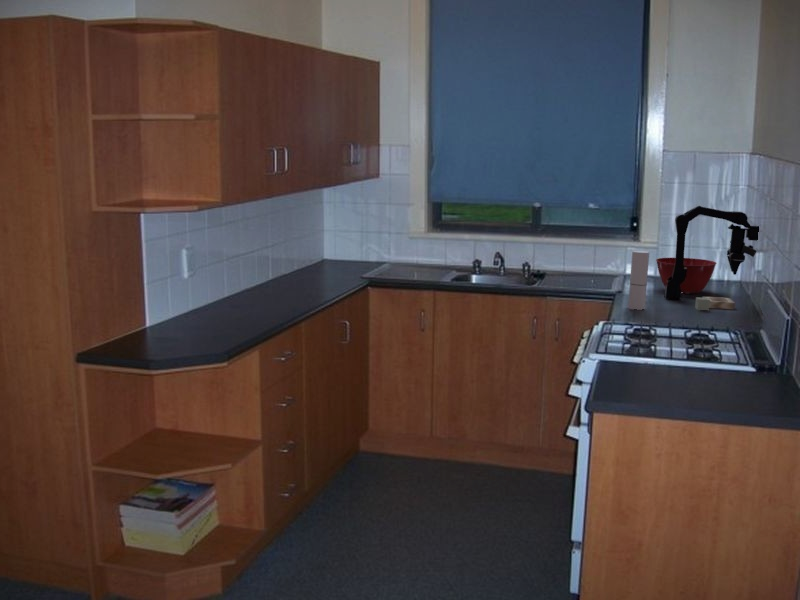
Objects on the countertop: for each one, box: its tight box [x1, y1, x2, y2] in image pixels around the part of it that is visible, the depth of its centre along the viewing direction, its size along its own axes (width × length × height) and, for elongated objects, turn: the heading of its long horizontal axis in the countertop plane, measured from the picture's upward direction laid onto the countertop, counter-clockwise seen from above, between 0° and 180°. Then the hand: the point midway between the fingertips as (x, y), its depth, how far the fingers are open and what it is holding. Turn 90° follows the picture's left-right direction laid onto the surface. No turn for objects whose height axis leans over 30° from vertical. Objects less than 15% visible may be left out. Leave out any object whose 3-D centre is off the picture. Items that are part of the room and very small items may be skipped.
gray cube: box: [694, 297, 710, 312], centre depth 394 cm, size 5×5×5 cm
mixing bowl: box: [655, 257, 717, 294], centre depth 439 cm, size 28×28×16 cm
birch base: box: [701, 296, 736, 310], centre depth 404 cm, size 12×12×3 cm
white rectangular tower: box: [627, 250, 650, 311], centre depth 390 cm, size 7×7×25 cm
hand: (733, 273), depth 411 cm, fingers open, 9 cm apart
